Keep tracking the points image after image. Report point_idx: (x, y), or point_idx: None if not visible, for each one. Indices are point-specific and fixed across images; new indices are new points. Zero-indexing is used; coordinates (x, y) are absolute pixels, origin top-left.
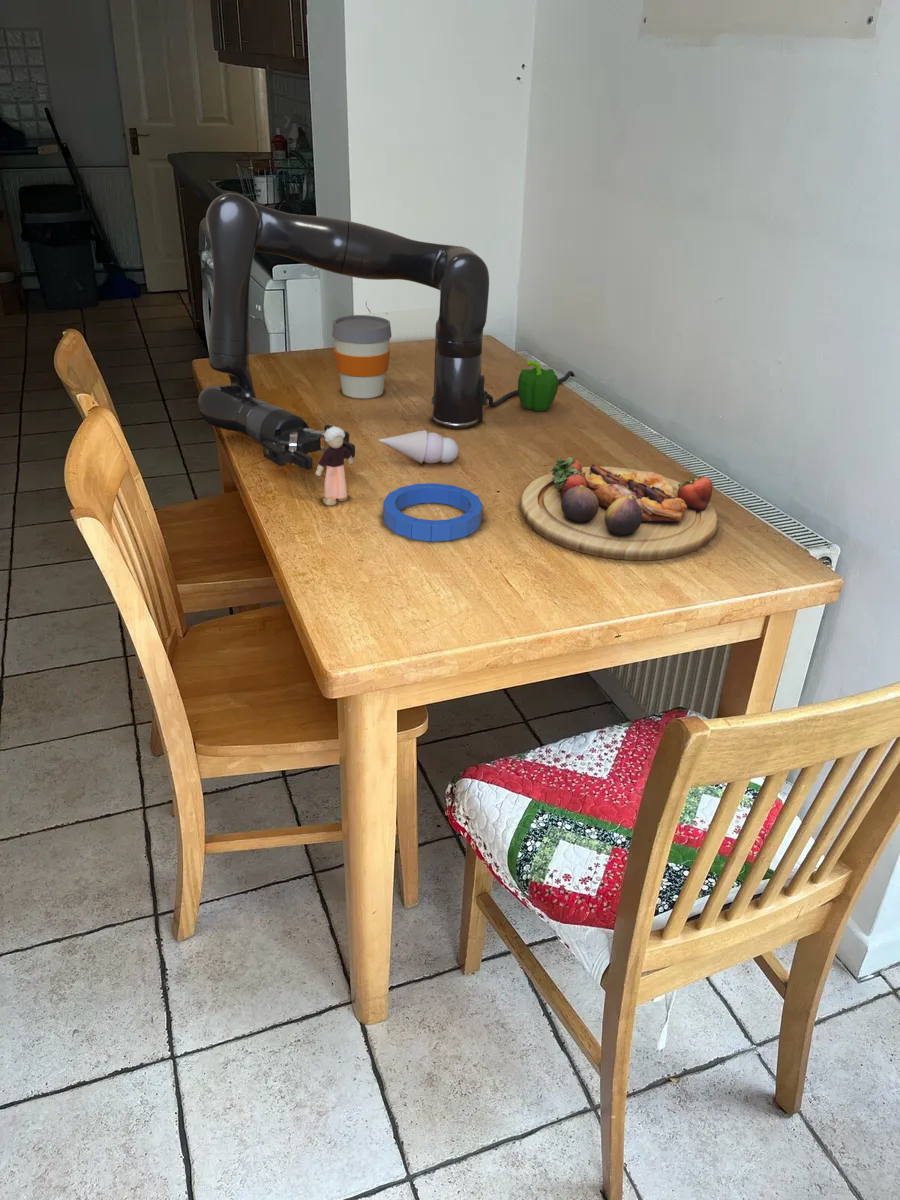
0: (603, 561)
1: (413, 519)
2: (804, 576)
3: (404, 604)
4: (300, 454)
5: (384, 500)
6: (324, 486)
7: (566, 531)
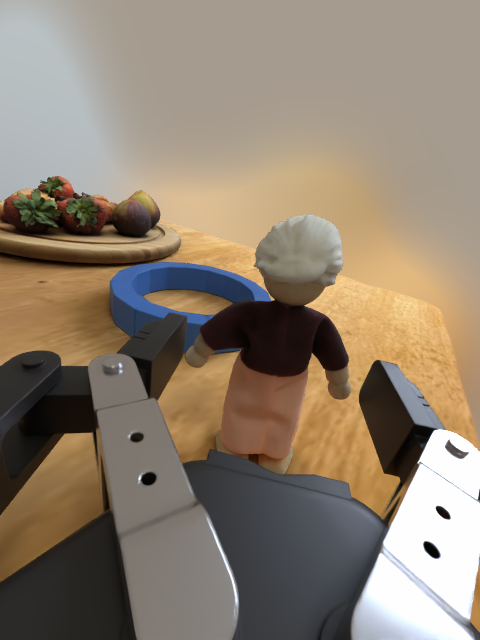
0: None
1: (257, 292)
2: None
3: (350, 297)
4: (417, 397)
5: None
6: (296, 429)
7: (167, 239)
